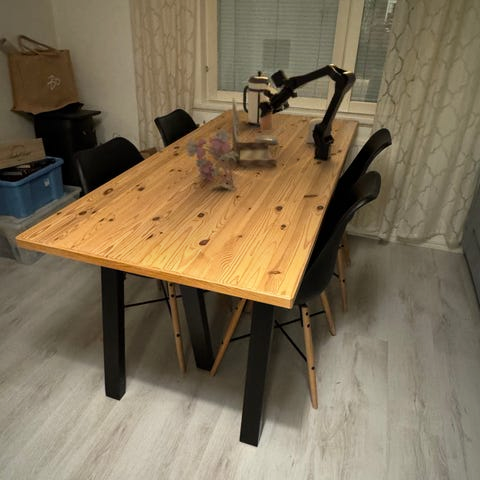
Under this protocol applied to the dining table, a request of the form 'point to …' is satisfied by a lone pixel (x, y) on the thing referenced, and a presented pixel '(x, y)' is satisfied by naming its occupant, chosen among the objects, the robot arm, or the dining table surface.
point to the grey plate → (267, 139)
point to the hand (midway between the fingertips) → (264, 116)
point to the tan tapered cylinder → (266, 120)
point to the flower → (218, 150)
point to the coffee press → (255, 96)
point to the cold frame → (250, 148)
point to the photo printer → (311, 128)
